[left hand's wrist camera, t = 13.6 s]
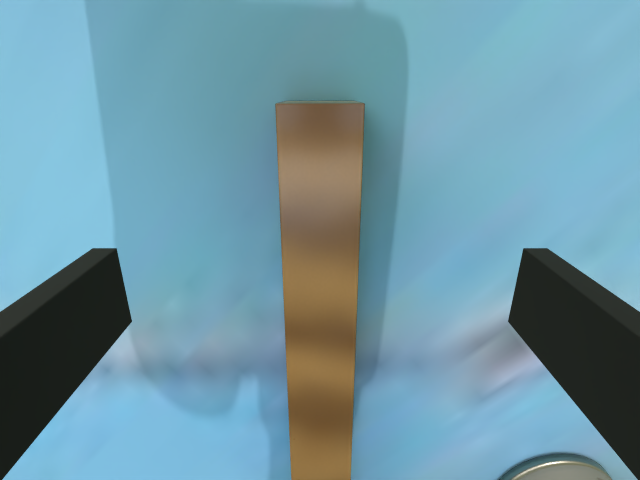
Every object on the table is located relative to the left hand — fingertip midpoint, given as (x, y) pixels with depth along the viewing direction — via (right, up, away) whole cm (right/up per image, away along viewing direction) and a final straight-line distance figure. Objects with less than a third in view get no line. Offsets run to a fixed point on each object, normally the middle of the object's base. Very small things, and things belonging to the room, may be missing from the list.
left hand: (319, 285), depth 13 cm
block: (0, -21, +33) cm, 39 cm away
